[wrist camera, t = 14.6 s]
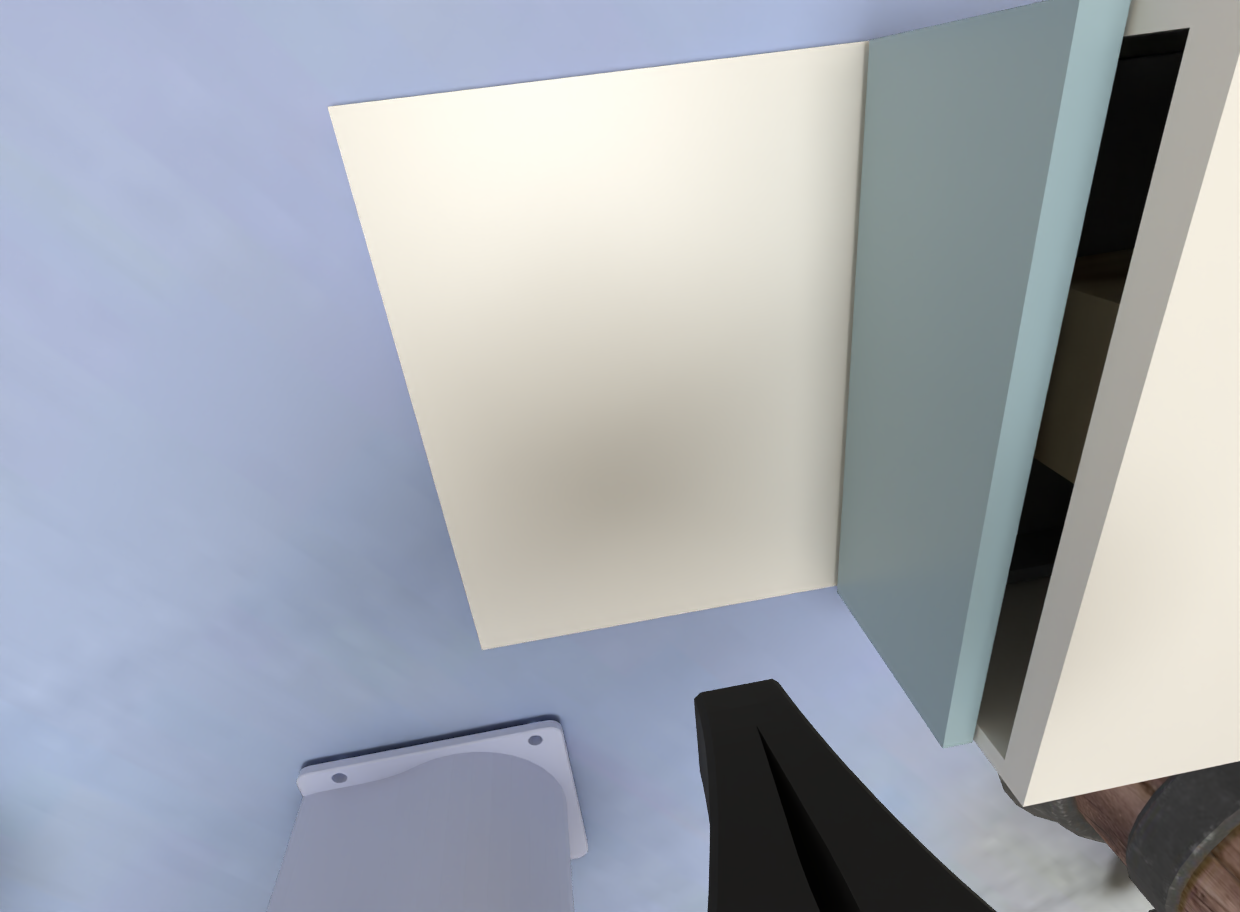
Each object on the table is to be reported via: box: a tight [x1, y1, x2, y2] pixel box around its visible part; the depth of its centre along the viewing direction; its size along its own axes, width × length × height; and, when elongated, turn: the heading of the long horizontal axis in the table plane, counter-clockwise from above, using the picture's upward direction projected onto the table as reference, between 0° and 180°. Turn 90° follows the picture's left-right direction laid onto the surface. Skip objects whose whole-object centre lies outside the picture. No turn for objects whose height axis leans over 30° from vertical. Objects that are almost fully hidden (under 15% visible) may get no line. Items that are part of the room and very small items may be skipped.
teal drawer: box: [837, 0, 1184, 748], centre depth 16 cm, size 11×16×6 cm
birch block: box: [1033, 249, 1134, 484], centre depth 16 cm, size 4×4×5 cm
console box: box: [328, 0, 1240, 807], centre depth 15 cm, size 24×16×9 cm, turn 96°
